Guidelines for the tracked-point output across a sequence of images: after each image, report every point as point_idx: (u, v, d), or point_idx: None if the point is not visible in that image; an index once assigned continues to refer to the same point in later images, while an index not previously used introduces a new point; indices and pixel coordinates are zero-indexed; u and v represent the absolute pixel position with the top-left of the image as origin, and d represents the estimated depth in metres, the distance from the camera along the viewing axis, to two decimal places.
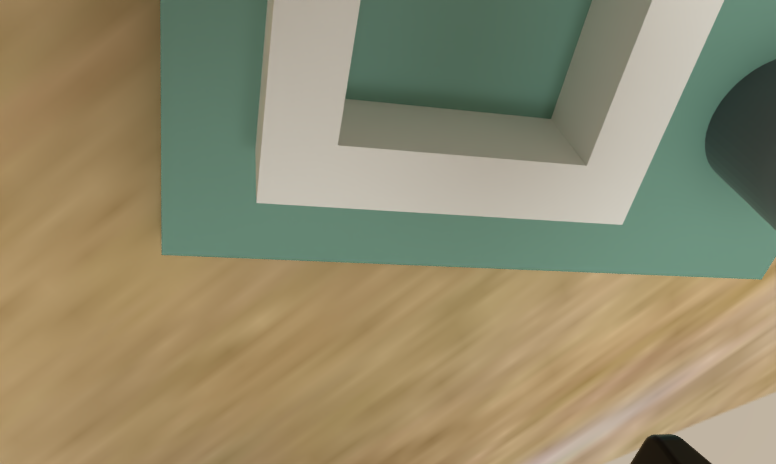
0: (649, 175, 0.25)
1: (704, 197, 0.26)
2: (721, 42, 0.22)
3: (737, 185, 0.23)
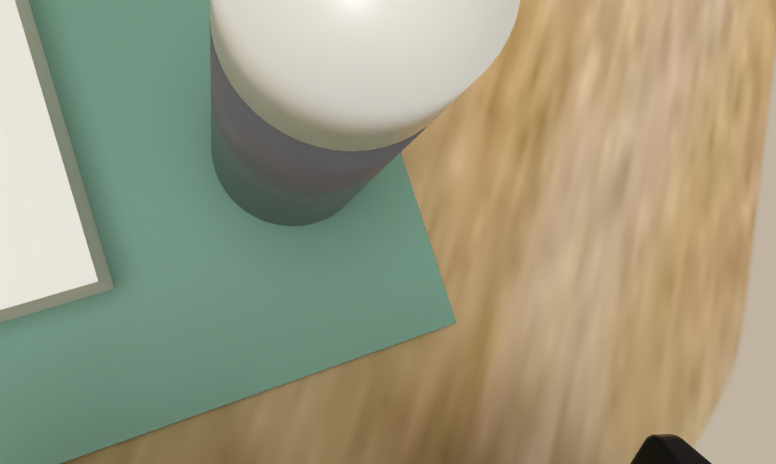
0: (196, 258, 0.21)
1: (286, 255, 0.22)
2: (161, 101, 0.22)
3: (248, 199, 0.20)
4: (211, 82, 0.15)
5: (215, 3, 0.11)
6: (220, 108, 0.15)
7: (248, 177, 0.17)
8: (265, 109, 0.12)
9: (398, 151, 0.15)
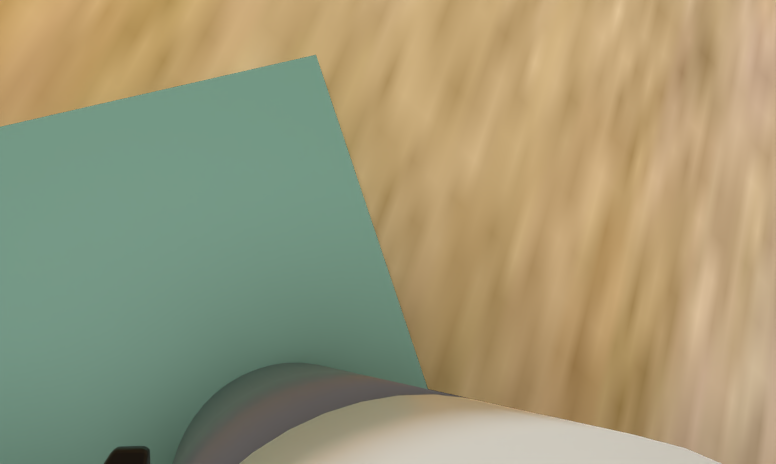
0: None
1: None
2: (90, 427, 0.14)
3: None
4: None
5: None
6: None
7: None
8: None
9: None
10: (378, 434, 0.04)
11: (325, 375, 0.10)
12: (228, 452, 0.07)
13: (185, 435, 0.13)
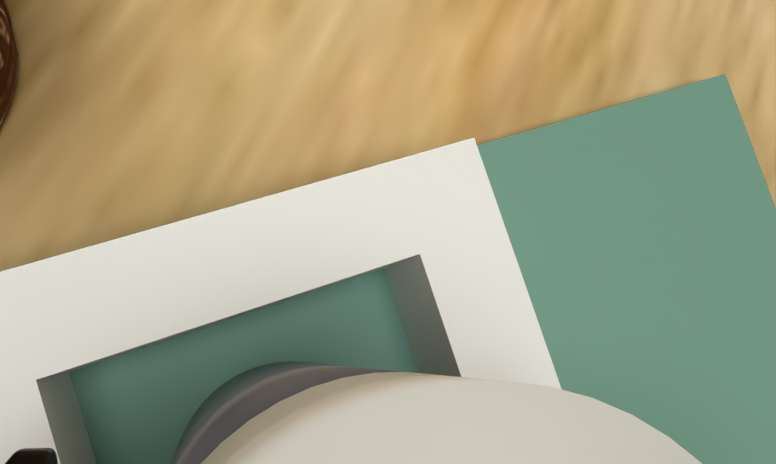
0: None
1: None
2: (605, 364, 0.18)
3: None
4: None
5: None
6: None
7: None
8: None
9: None
10: (351, 393, 0.05)
11: (315, 366, 0.11)
12: (228, 425, 0.07)
13: (187, 428, 0.14)
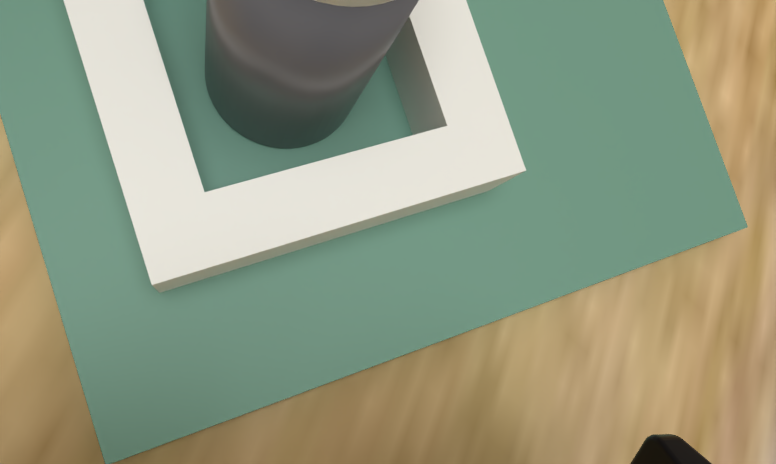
0: (547, 167, 0.25)
1: (614, 167, 0.26)
2: (510, 35, 0.25)
3: (245, 113, 0.20)
4: None
5: None
6: None
7: (246, 77, 0.18)
8: None
9: (393, 24, 0.15)
10: None
11: None
12: None
13: None
